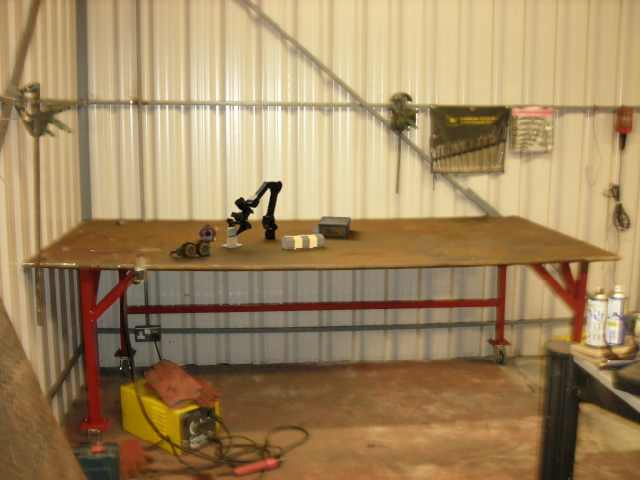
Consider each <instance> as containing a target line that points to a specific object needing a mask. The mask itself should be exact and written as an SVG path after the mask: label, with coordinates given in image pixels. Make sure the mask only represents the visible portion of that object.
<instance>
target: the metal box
mask: <svg viewBox="0 0 640 480" xmlns="http://www.w3.org/2000/svg"><path fill="white" fill-rule="evenodd" d="M350 223H351V217H350V216H347V217H346V216H332V215H331V216H321V218H320V219H319V221H318V222H317V225H318V226H317V228H319V229H318V231H319V232H317V234H322V235H323V237H326V238H329V239H335V238H336V239H348V236H349V233H350V230H351V229H350V227H351V224H350Z"/></svg>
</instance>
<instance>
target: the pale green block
mask: <svg viewBox="0 0 640 480" xmlns="http://www.w3.org/2000/svg"><path fill="white" fill-rule="evenodd" d="M237 231H238V226H234V227H230V228H229V227H227V228H226V237H231V236H237V235H236V233H237Z"/></svg>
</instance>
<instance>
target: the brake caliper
mask: <svg viewBox="0 0 640 480" xmlns="http://www.w3.org/2000/svg"><path fill="white" fill-rule="evenodd" d="M198 235H199V238H200V239H201V241H207V242H213V241H216V240H217V239H216V237H217V230H215V228H213V227H212V226H211V225H210V224H209V223H206V224H205V225H202V227H201V229H200V230H199V232H198Z"/></svg>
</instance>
